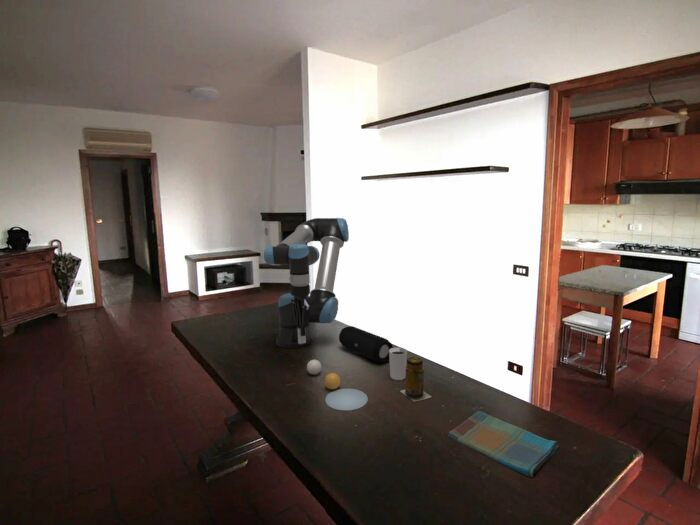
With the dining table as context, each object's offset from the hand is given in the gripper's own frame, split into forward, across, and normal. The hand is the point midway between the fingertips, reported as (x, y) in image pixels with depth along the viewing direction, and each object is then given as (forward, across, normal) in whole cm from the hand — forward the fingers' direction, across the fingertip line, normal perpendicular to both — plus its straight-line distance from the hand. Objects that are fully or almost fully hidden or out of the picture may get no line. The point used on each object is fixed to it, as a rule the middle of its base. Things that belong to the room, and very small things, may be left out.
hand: (302, 342), depth 155 cm
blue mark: (+10, +32, 0) cm, 34 cm away
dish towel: (+11, +75, +23) cm, 79 cm away
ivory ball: (+7, +9, 0) cm, 12 cm away
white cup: (+10, +29, +25) cm, 39 cm away
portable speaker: (+10, +5, +27) cm, 29 cm away
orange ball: (+7, +23, 0) cm, 24 cm away
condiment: (+10, +42, +21) cm, 49 cm away
